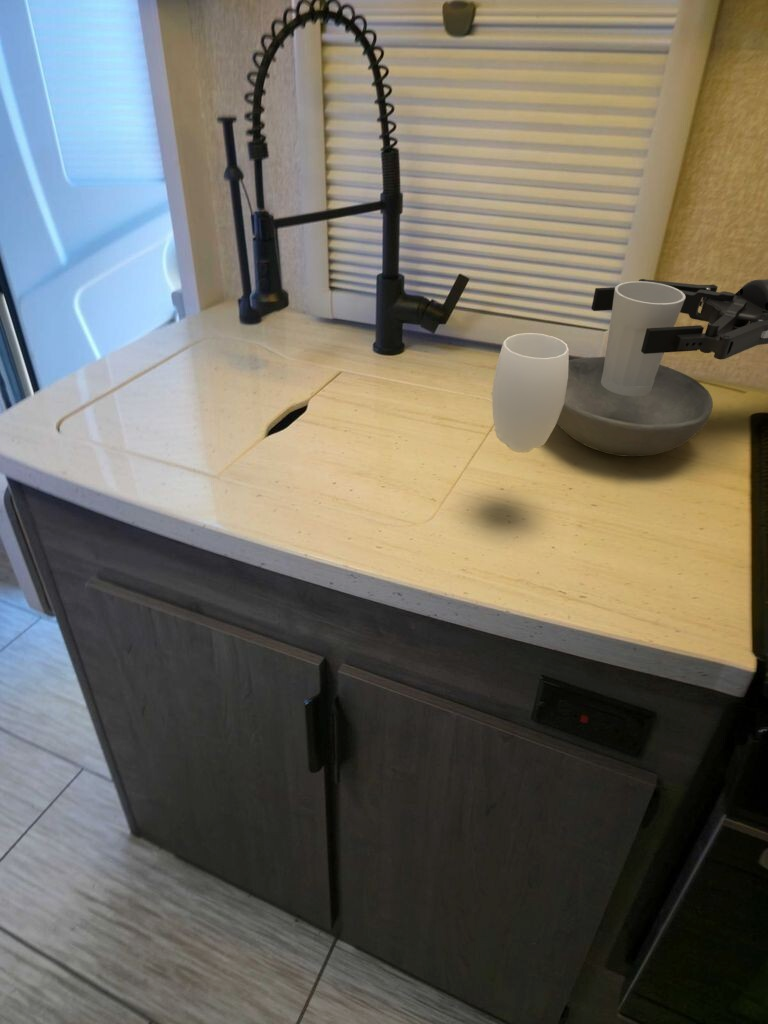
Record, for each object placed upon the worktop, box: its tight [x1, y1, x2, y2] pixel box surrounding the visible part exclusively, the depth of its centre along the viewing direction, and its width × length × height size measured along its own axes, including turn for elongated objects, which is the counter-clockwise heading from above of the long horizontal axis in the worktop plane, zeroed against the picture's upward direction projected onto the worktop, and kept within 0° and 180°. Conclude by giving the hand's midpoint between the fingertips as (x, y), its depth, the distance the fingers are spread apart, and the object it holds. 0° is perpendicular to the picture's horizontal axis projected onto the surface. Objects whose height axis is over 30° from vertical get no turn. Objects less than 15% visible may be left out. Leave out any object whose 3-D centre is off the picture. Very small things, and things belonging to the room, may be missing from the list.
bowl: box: [556, 356, 714, 457], centre depth 88 cm, size 21×21×8 cm
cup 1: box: [491, 332, 570, 454], centre depth 70 cm, size 7×7×21 cm
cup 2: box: [601, 280, 685, 396], centre depth 82 cm, size 8×8×12 cm
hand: (617, 319), depth 80 cm, fingers open, 13 cm apart
